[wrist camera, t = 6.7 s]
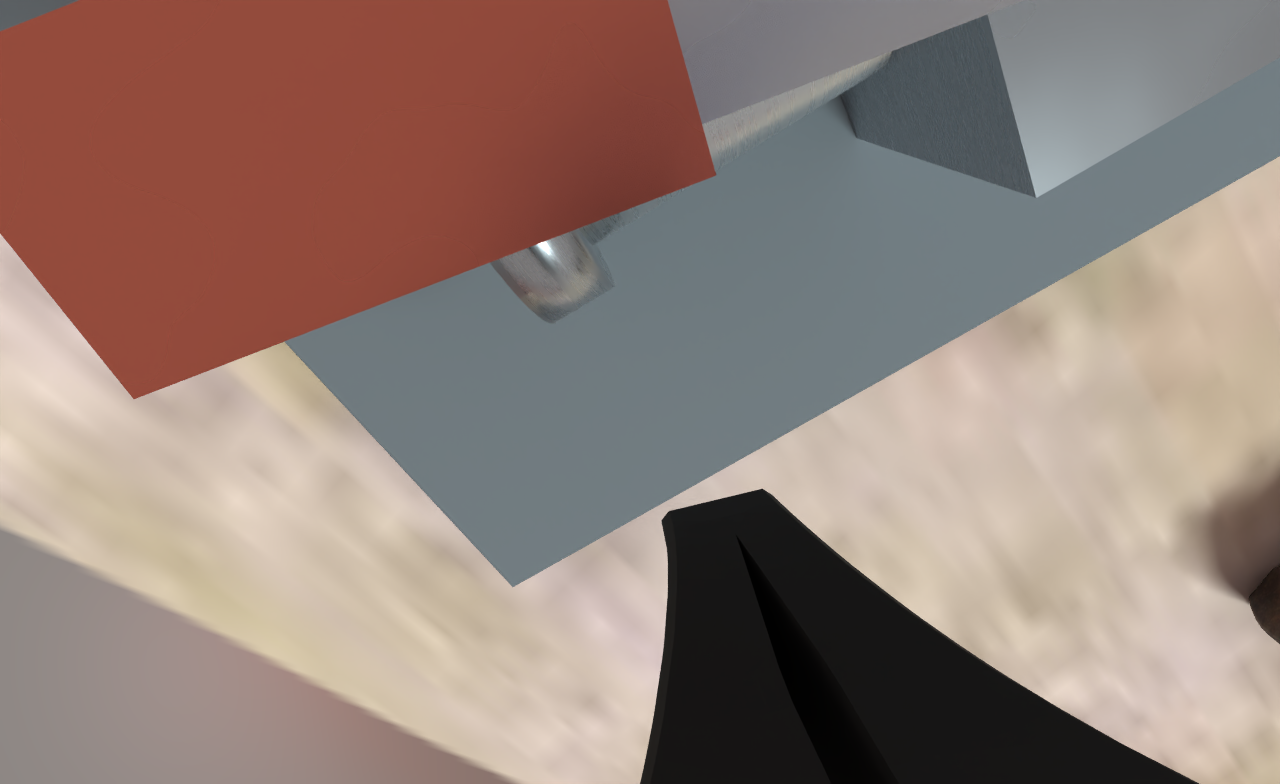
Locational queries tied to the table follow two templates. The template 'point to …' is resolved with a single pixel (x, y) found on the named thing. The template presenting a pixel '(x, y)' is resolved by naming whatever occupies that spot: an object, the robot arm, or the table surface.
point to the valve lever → (364, 144)
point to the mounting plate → (733, 316)
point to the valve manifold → (977, 107)
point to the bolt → (1268, 604)
